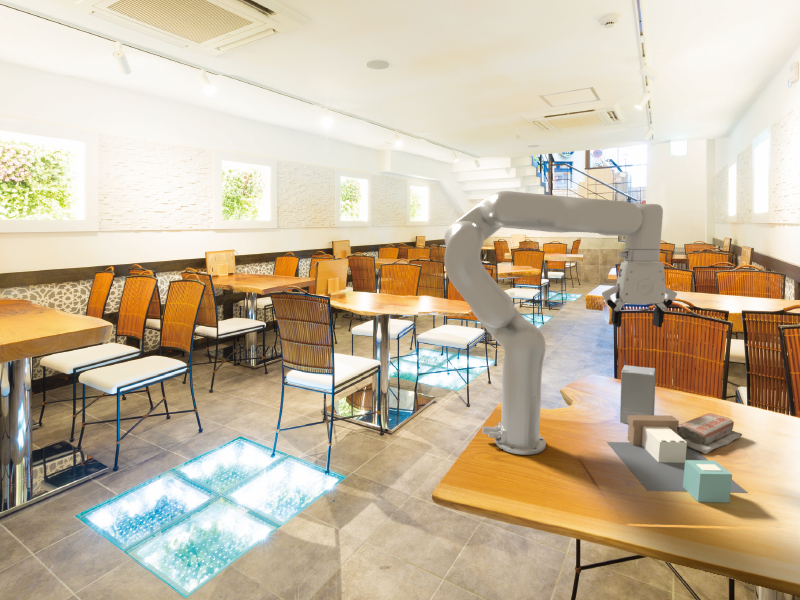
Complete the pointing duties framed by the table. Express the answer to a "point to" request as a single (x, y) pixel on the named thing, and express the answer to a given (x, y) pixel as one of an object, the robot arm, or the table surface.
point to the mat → (658, 468)
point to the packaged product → (707, 432)
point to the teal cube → (707, 481)
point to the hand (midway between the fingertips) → (636, 326)
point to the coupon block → (657, 437)
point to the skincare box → (637, 391)
